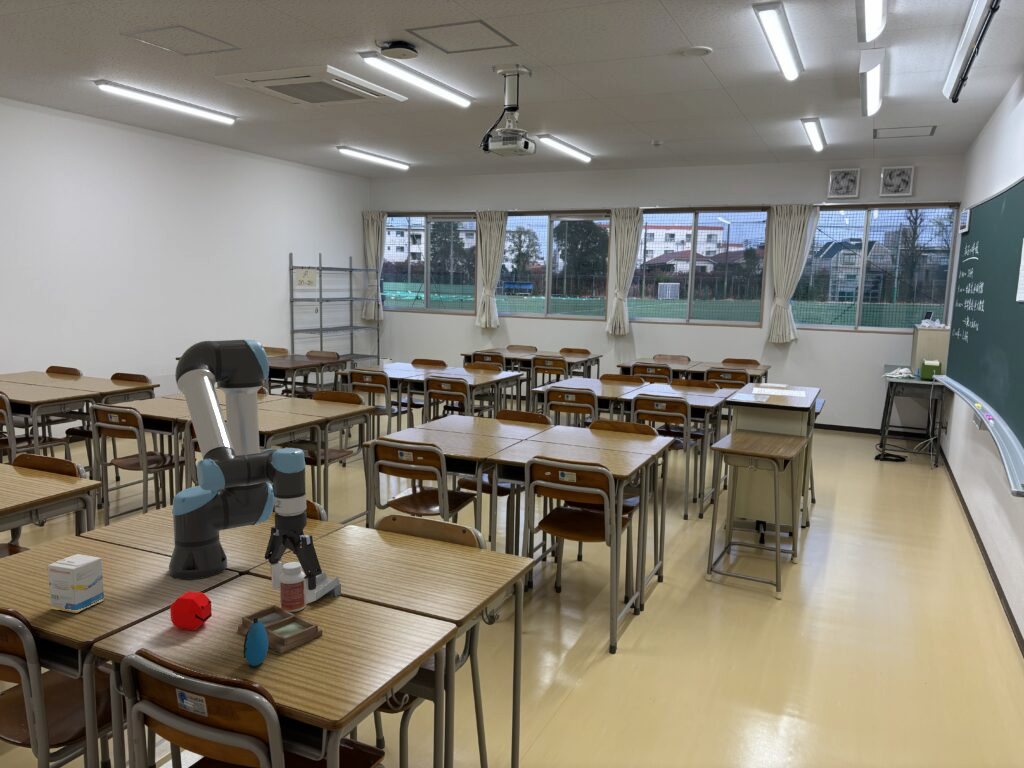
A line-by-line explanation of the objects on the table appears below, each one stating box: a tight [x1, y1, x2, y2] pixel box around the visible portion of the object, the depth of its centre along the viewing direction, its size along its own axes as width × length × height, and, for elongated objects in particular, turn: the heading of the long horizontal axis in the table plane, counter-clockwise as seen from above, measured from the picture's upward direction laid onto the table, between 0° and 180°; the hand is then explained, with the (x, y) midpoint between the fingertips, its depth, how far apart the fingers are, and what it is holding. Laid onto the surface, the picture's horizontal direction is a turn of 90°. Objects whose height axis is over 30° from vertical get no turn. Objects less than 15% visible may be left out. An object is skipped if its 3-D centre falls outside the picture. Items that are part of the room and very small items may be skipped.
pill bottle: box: [279, 561, 307, 613], centre depth 178 cm, size 6×6×11 cm
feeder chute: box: [314, 571, 342, 602], centre depth 185 cm, size 6×8×5 cm
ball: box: [169, 591, 213, 631], centre depth 168 cm, size 8×8×8 cm
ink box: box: [47, 553, 105, 610], centre depth 179 cm, size 9×8×12 cm
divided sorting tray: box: [237, 605, 323, 654], centre depth 165 cm, size 17×11×3 cm, turn 52°
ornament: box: [243, 618, 269, 667], centre depth 151 cm, size 8×5×10 cm, turn 5°
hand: (293, 594), depth 178 cm, fingers open, 13 cm apart
